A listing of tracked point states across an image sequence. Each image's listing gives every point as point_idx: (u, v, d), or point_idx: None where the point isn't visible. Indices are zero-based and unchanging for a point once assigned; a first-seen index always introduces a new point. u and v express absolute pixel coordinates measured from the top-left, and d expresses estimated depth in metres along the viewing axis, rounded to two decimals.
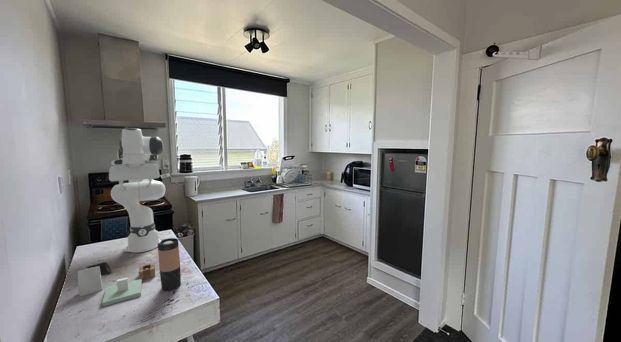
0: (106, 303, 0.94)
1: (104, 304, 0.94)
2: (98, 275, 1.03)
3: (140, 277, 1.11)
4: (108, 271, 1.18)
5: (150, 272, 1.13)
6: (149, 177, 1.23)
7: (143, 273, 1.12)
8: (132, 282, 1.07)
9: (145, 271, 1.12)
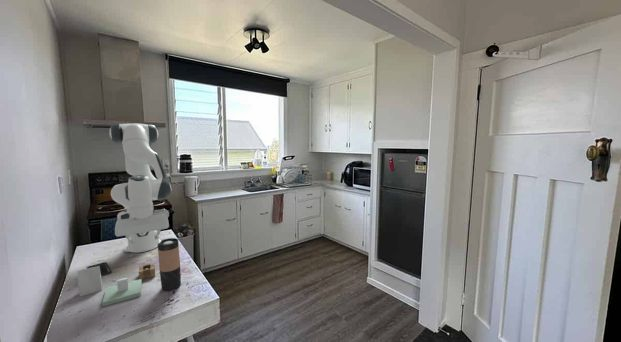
0: (106, 303, 0.94)
1: (104, 304, 0.94)
2: (98, 275, 1.03)
3: (140, 277, 1.11)
4: (108, 271, 1.18)
5: (150, 272, 1.13)
6: (158, 228, 1.14)
7: (143, 273, 1.12)
8: (132, 282, 1.07)
9: (145, 271, 1.12)
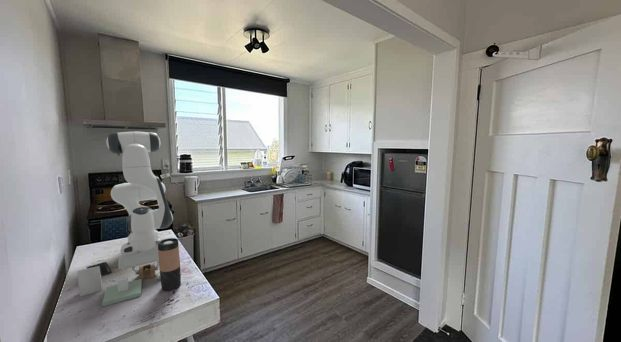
0: (106, 303, 0.94)
1: (104, 304, 0.94)
2: (98, 275, 1.03)
3: (140, 277, 1.11)
4: (108, 271, 1.18)
5: (150, 272, 1.13)
6: None
7: (143, 273, 1.12)
8: (132, 282, 1.07)
9: (145, 271, 1.12)
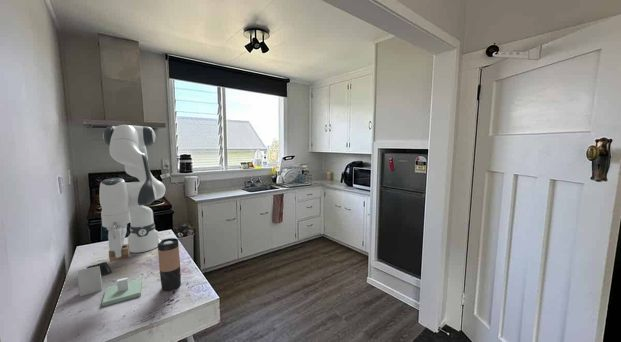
0: (106, 303, 0.94)
1: (104, 304, 0.94)
2: (98, 275, 1.03)
3: None
4: (108, 271, 1.18)
5: None
6: None
7: None
8: (132, 282, 1.07)
9: None
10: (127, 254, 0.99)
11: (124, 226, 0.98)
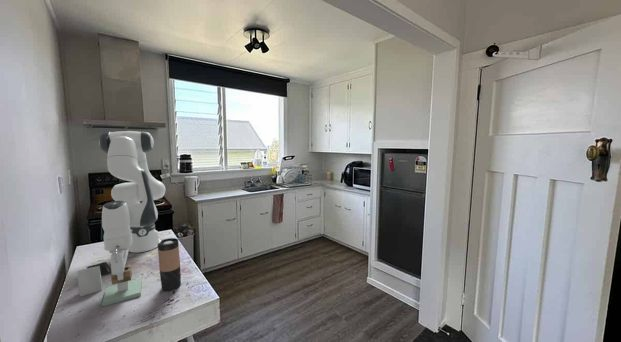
0: (106, 303, 0.94)
1: (104, 304, 0.94)
2: (98, 275, 1.03)
3: None
4: (108, 271, 1.18)
5: None
6: None
7: None
8: (132, 282, 1.07)
9: None
10: (129, 276, 1.00)
11: (126, 249, 0.99)
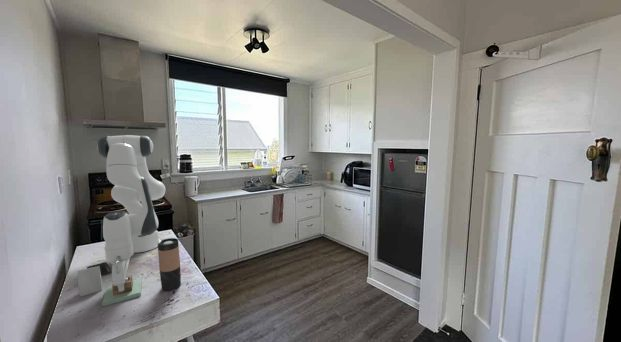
0: (106, 303, 0.94)
1: (104, 304, 0.94)
2: (98, 275, 1.03)
3: None
4: (108, 271, 1.18)
5: None
6: None
7: None
8: None
9: None
10: (130, 287, 1.01)
11: (127, 258, 1.00)
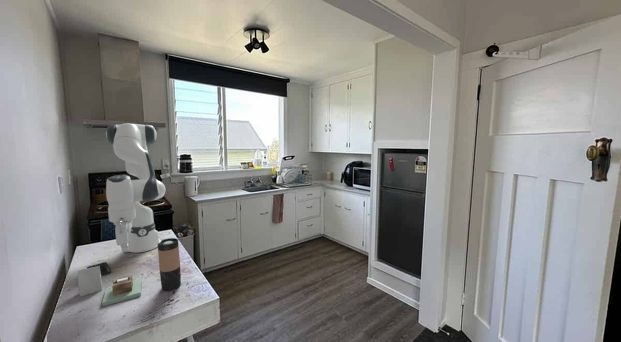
0: (106, 303, 0.94)
1: (104, 304, 0.94)
2: (98, 275, 1.03)
3: None
4: (108, 271, 1.18)
5: None
6: None
7: None
8: None
9: None
10: (130, 287, 1.01)
11: (130, 221, 1.03)
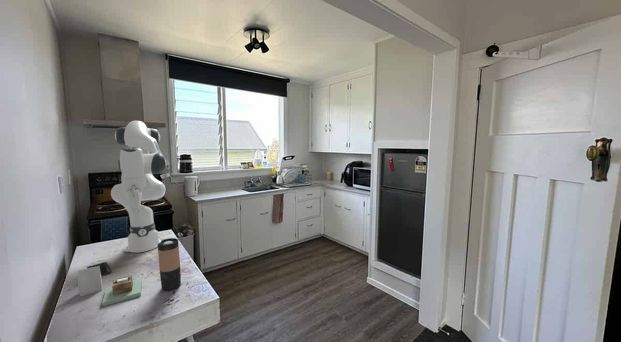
0: (106, 303, 0.94)
1: (104, 304, 0.94)
2: (98, 275, 1.03)
3: None
4: (108, 271, 1.18)
5: None
6: None
7: None
8: None
9: None
10: (130, 287, 1.01)
11: (141, 189, 1.11)
